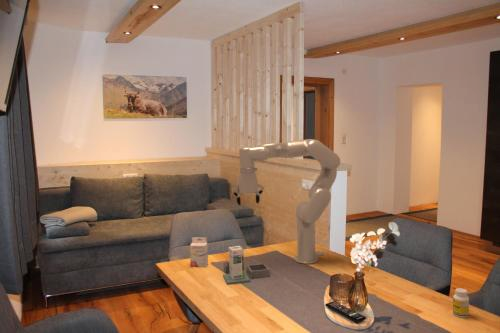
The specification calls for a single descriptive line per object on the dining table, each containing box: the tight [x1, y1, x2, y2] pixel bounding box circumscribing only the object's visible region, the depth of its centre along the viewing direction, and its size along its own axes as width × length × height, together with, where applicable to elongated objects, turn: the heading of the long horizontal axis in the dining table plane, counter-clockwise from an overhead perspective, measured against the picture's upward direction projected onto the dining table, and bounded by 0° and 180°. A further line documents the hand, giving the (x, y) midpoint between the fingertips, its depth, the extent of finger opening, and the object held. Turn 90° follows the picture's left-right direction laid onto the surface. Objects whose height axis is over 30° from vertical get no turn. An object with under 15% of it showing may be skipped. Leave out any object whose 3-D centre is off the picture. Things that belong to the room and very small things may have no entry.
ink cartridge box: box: [189, 236, 209, 268], centre depth 225 cm, size 9×5×15 cm, turn 84°
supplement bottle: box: [452, 287, 470, 319], centre depth 162 cm, size 5×5×10 cm
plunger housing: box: [223, 261, 230, 274], centre depth 215 cm, size 6×6×4 cm
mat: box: [222, 271, 251, 286], centre depth 205 cm, size 11×11×1 cm
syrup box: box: [228, 245, 245, 280], centre depth 204 cm, size 6×6×14 cm
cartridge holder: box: [246, 263, 271, 280], centre depth 210 cm, size 9×9×4 cm
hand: (248, 203), depth 222 cm, fingers open, 9 cm apart
